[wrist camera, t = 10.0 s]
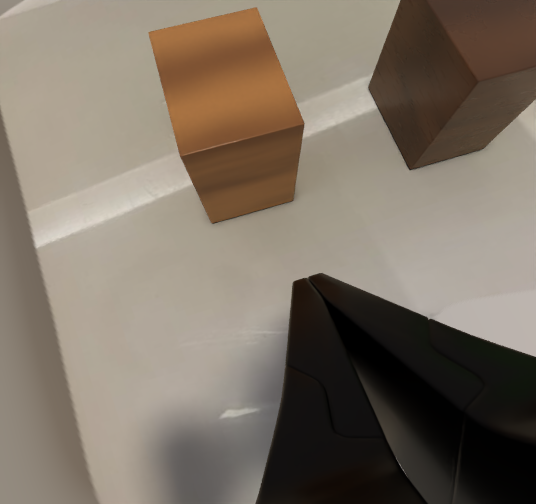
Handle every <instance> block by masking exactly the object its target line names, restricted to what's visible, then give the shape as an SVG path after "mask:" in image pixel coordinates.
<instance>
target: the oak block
mask: <svg viewBox="0 0 536 504" xmlns="http://www.w3.org/2000/svg"><path fill="white" fill-rule="evenodd" d="M149 37H150V41H151V45H152V49H153V53H154V56H155V60H156V64H157V68H158V72H159V76H160V80H161V84H162V88H163V91H164V95H165V99H166V103H167V107H168V111H169V115H170V119H171V123H172V126H173V130H174V134H175V138H176V142H177V146H178V150H179V154H180V157H181V159H182V161H183V163H184V165H185V168H186V170H187V172H188V174H189V176H190V178H191V180H192V183H193V185H194V187H195V189H196V191H197V193H198V195H199V197H200V200H201V202H202V204H203V206H204V208H205V210H206V212H207V215H208V217H209V219H210V221H211V223H215V222H219V221H223V220H226V219H230V218H233V217H237V216H240V215H244V214H247V213H251V212H254V211H258V210H261V209H265V208H269V207H272V206H276V205H279V204H283V203H286V202H290V201H293V197H294V191H295V184H296V177H297V170H298V164H299V157H300V150H301V144H302V137H303V130H304V121H303V119H302V116H301V114H300V111H299V109H298V107H297V104H296V102H295V99H294V97H293V94H292V92H291V90H290V87H289V85H288V82H287V80H286V77H285V75H284V72H283V70H282V68H281V65H280V63H279V60H278V58H277V55H276V53H275V51H274V48H273V46H272V43H271V41H270V38H269V36H268V33H267V31H266V29H265V26H264V24H263V21H262V19H261V16H260V14H259V12H258V9H257V8H251V9H247V10H243V11H238V12H234V13H230V14H225V15H221V16H216V17H212V18H208V19H203V20H199V21H195V22H190V23H186V24H182V25H177V26H173V27H168V28H164V29H160V30H155V31H151V32H149Z"/></svg>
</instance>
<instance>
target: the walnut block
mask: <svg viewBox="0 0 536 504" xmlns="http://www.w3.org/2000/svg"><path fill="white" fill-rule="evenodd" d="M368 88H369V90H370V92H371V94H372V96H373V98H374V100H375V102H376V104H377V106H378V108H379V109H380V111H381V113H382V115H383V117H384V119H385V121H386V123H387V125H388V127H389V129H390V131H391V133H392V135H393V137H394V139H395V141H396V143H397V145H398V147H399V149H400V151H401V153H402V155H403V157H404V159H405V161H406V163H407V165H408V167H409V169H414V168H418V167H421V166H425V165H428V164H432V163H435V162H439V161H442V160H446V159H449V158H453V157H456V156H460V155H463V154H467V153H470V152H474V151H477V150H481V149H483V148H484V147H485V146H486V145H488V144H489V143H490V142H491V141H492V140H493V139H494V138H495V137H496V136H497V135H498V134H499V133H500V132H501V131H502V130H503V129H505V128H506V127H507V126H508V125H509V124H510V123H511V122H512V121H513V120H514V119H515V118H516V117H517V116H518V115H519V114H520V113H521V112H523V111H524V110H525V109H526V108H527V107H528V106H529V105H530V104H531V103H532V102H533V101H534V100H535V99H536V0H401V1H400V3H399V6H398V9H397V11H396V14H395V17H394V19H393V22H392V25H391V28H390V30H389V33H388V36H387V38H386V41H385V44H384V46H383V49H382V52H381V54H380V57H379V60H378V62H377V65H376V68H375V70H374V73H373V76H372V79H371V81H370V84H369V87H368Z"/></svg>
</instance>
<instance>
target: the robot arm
mask: <svg viewBox="0 0 536 504" xmlns="http://www.w3.org/2000/svg"><path fill="white" fill-rule="evenodd" d="M285 366H286V367H285V373H284V383H283V390H282V398H281V403H280V408H279V413H278V418H277V422H276V426H275V430H274V434H273V438H272V443H271V447H270V451H269V455H268V459H267V463H266V467H265V471H264V475H263V479H262V483H261V487H260V490H259V494H258V497H257V500H256V504H536V357H534V356H531V355H528V354H525V353H522V352H519V351H516V350H513V349H510V348H507V347H504V346H501V345H498V344H496V343H493V342H490V341H487V340H484V339H481V338H478V337H475V336H473V335H470V334H467V333H465V332H462V331H460V330H457V329H455V328H452V327H450V326H447V325H445V324H442V323H440V322H438V321H435V320H433V319H429V320H428V318H427V317H425V316H423V315H421V314H418V313H416V312H413V311H411V310H409V309H406V308H404V307H402V306H399V305H397V304H394V303H392V302H390V301H387V300H385V299H383V298H380V297H378V296H375V295H373V294H371V293H368V292H366V291H363V290H361V289H359V288H356V287H354V286H352V285H349V284H347V283H344V282H342V281H340V280H337V279H335V278H332V277H330V276H328V275H325V274H323V273H319V274H316V275H313V276H309V277H308V279H307V278H303V279H300V280H296V281H294V282H293V286H292V297H291V308H290V319H289V330H288V342H287V353H286V364H285ZM396 458H397V459H396ZM397 460H398V461H397ZM398 462H399V463H400V465H401V466H400V465H399V463H398ZM401 467H402V468H403V470H404V471H403V470H402V468H401ZM404 472H405V473H406V474H405V473H404ZM406 475H407V476H406Z"/></svg>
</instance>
